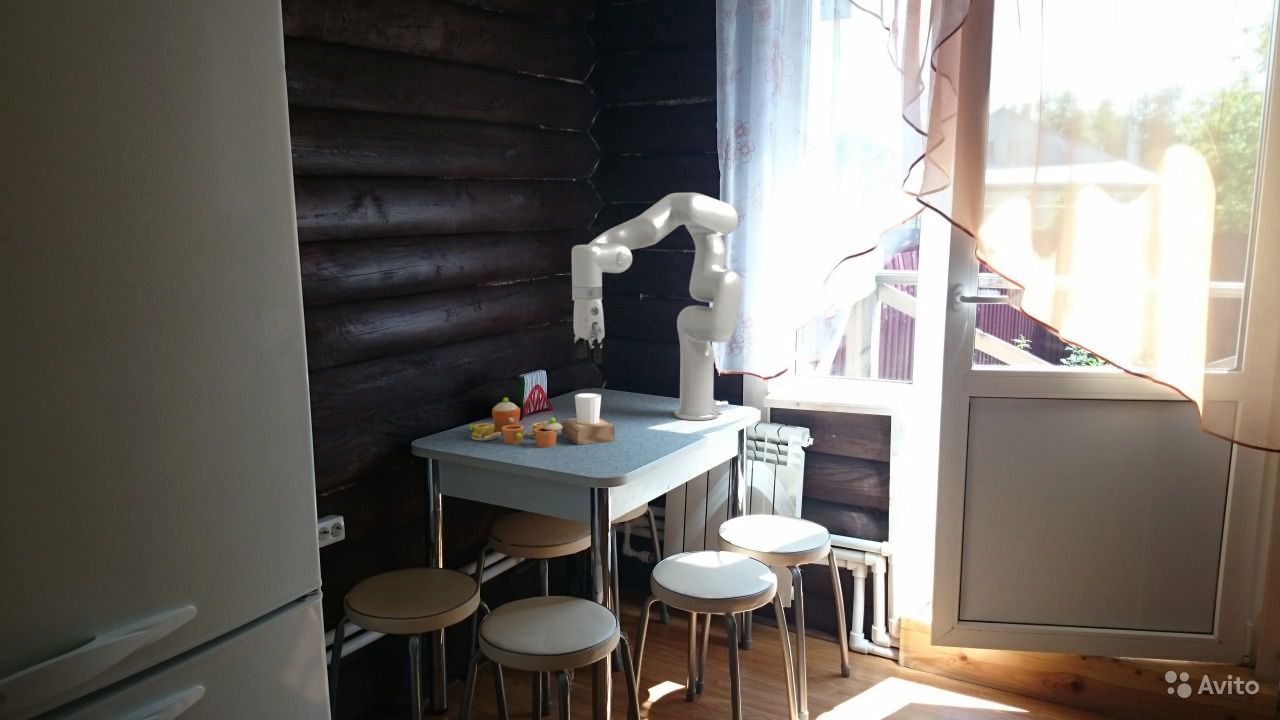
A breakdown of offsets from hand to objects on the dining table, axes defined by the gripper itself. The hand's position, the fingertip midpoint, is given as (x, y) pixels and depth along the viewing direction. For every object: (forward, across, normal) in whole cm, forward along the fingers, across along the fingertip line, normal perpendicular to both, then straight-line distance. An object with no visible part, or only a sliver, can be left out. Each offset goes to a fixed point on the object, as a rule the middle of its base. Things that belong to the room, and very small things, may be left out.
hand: (588, 360), depth 234 cm
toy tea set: (+21, +7, +16) cm, 27 cm away
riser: (+20, 0, +1) cm, 20 cm away
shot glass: (+16, 0, 0) cm, 16 cm away
